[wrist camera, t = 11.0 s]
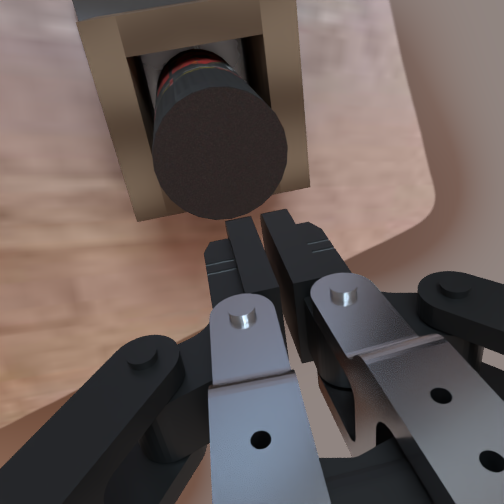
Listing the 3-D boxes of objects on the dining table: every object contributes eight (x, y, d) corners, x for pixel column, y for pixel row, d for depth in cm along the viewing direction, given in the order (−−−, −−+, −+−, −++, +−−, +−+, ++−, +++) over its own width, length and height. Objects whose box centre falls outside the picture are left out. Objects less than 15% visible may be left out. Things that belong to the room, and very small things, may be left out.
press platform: (139, 48, 31) (139, 49, 30) (237, 31, 31) (239, 32, 31) (163, 145, 34) (163, 149, 34) (251, 129, 35) (253, 132, 34)
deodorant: (251, 68, 32) (310, 117, 19) (221, 145, 34) (256, 234, 21) (171, 34, 30) (177, 62, 17) (146, 117, 32) (135, 197, 19)
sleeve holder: (74, -1, 30) (43, -1, 22) (277, -34, 31) (315, -44, 23) (132, 190, 37) (124, 241, 29) (294, 158, 38) (328, 199, 30)
